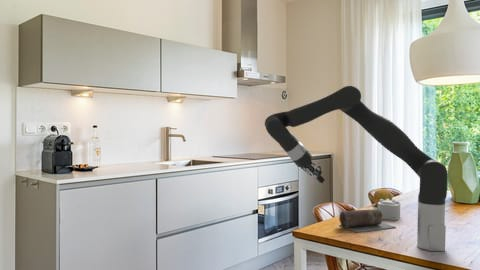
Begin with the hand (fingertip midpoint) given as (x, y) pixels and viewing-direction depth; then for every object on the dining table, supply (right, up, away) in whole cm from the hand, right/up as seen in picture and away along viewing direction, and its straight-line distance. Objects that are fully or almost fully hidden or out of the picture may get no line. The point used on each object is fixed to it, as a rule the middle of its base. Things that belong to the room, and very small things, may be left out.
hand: (322, 181), depth 164 cm
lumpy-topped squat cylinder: (+41, -22, +31) cm, 56 cm away
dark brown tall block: (+10, -18, +6) cm, 21 cm away
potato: (+48, -21, +58) cm, 78 cm away
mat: (+23, -22, +10) cm, 33 cm away
